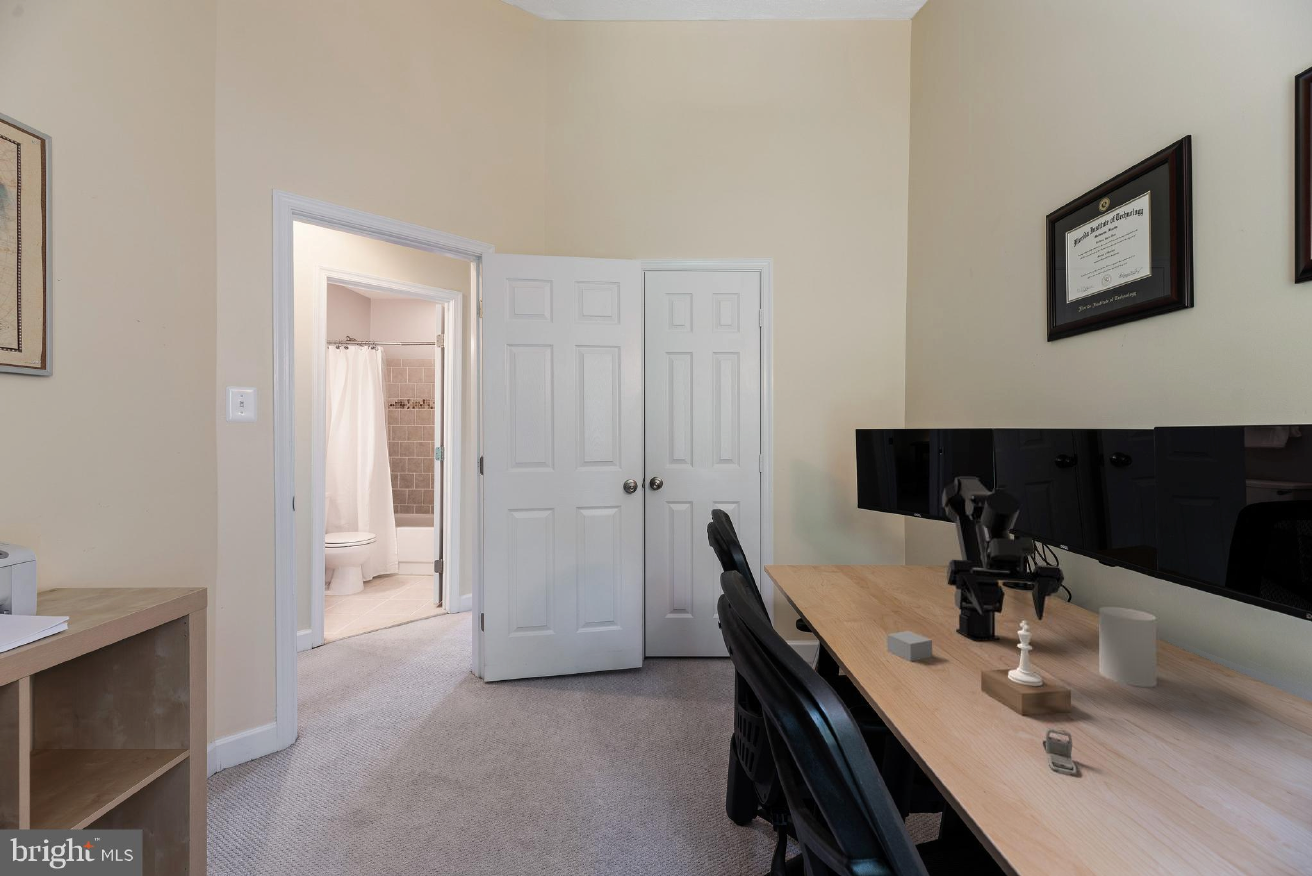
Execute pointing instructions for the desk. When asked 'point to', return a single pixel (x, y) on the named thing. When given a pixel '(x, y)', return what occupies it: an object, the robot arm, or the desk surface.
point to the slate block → (909, 645)
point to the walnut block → (1026, 694)
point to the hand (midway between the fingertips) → (1011, 616)
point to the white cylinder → (1127, 646)
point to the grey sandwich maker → (1059, 753)
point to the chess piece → (1025, 661)
